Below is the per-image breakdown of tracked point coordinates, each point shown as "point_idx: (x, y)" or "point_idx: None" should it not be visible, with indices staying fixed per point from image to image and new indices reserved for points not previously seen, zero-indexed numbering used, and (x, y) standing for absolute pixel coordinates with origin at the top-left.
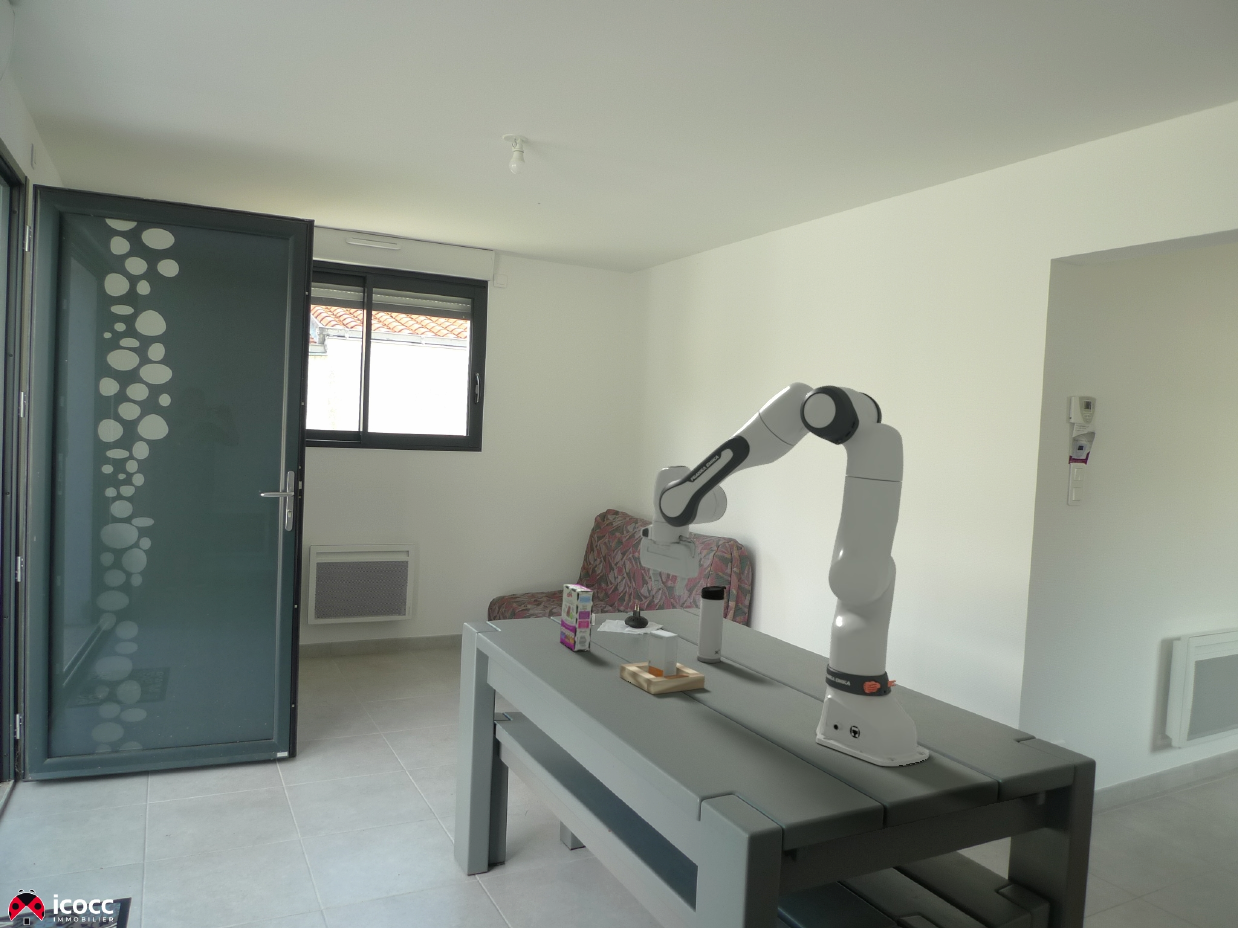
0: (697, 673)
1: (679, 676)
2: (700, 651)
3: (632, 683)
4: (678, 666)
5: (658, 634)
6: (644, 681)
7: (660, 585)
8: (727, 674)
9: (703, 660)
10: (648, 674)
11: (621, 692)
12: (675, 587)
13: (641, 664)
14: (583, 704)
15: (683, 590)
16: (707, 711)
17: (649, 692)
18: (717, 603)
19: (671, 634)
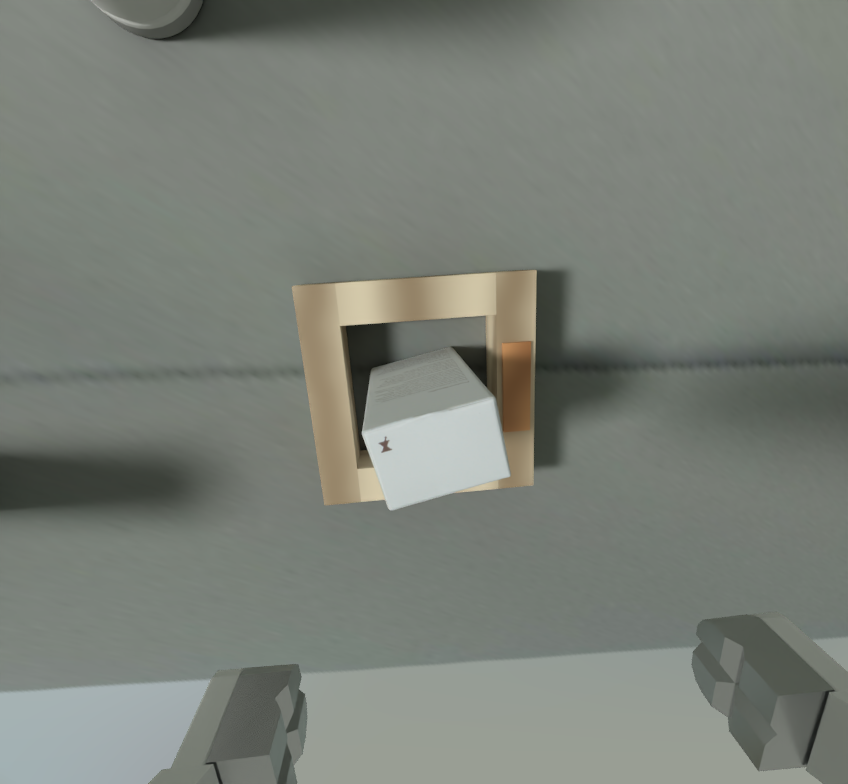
0: (504, 285)
1: (525, 380)
2: (137, 12)
3: None
4: (397, 308)
5: (452, 492)
6: None
7: (289, 693)
8: (395, 47)
9: (180, 28)
10: None
11: (475, 536)
12: (780, 761)
13: (337, 434)
14: (528, 648)
15: (815, 649)
16: (706, 391)
17: None
18: None
19: (478, 432)
